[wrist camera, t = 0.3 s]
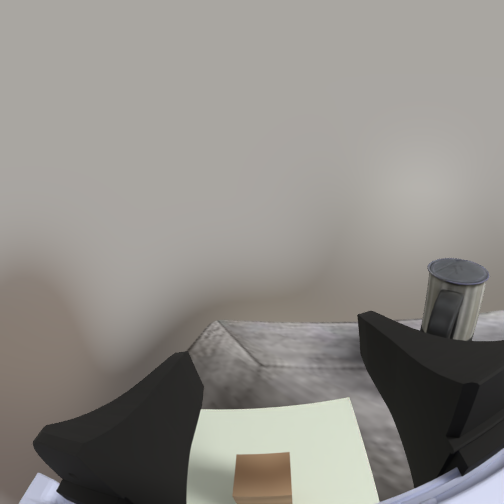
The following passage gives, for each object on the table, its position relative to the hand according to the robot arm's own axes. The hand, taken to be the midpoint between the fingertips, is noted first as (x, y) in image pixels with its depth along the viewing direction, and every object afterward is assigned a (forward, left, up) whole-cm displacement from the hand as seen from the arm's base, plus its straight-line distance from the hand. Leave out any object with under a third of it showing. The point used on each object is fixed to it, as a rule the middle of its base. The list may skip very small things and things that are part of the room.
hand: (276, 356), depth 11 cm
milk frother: (+13, -25, -21) cm, 35 cm away
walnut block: (0, +2, -20) cm, 20 cm away
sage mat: (+2, +2, -20) cm, 21 cm away
